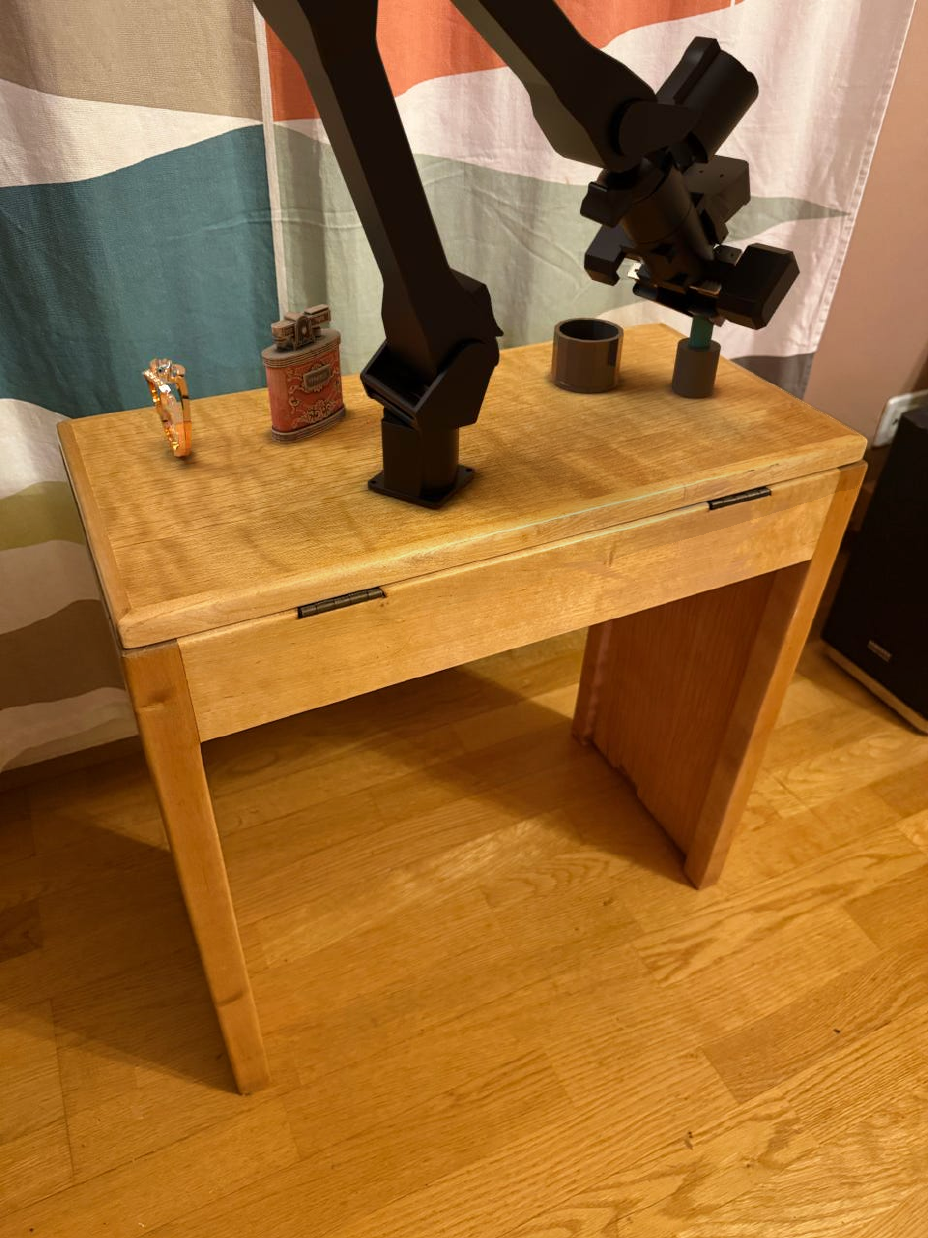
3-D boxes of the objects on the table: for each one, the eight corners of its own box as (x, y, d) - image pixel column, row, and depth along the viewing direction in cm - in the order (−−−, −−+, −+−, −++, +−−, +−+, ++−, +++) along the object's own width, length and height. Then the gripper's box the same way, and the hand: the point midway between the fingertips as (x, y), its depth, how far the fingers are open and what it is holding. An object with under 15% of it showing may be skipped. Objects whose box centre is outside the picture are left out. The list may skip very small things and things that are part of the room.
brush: (705, 401, 86) (729, 270, 79) (665, 392, 88) (684, 263, 80) (718, 386, 89) (742, 259, 82) (678, 378, 90) (698, 252, 83)
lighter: (290, 446, 78) (277, 330, 72) (262, 435, 79) (247, 321, 73) (354, 415, 83) (347, 304, 77) (327, 405, 84) (318, 296, 78)
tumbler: (602, 398, 86) (608, 346, 83) (539, 384, 89) (542, 333, 86) (627, 374, 91) (633, 325, 88) (566, 361, 94) (570, 313, 91)
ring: (151, 441, 78) (131, 349, 73) (189, 433, 79) (172, 343, 74) (169, 476, 73) (149, 381, 68) (209, 468, 74) (192, 374, 70)
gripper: (817, 140, 67) (851, 266, 79) (618, 108, 77) (676, 224, 90) (735, 272, 67) (782, 377, 80) (548, 222, 78) (616, 321, 91)
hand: (712, 318), depth 85 cm, fingers closed on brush, 2 cm apart
